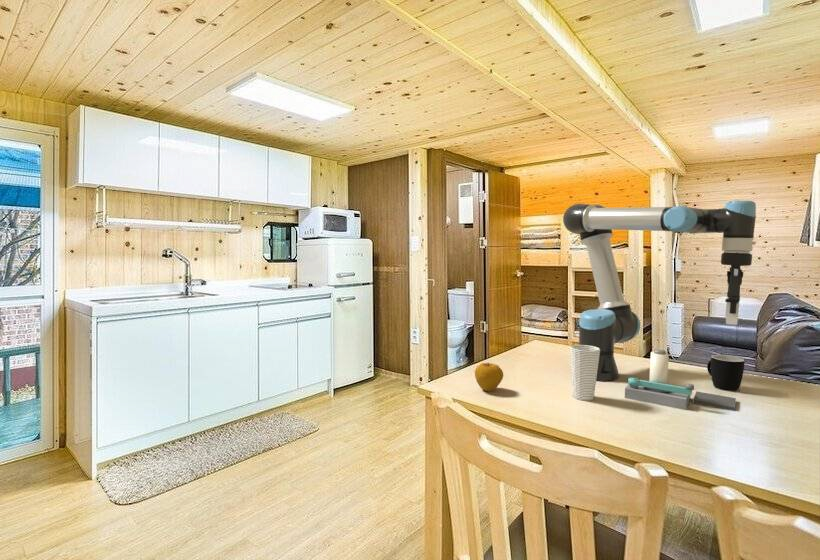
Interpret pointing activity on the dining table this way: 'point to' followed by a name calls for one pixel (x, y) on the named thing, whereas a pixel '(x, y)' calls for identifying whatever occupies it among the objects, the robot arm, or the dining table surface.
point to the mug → (726, 372)
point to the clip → (662, 386)
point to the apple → (488, 376)
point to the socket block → (657, 397)
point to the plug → (658, 368)
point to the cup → (584, 370)
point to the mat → (715, 400)
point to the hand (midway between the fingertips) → (730, 321)
